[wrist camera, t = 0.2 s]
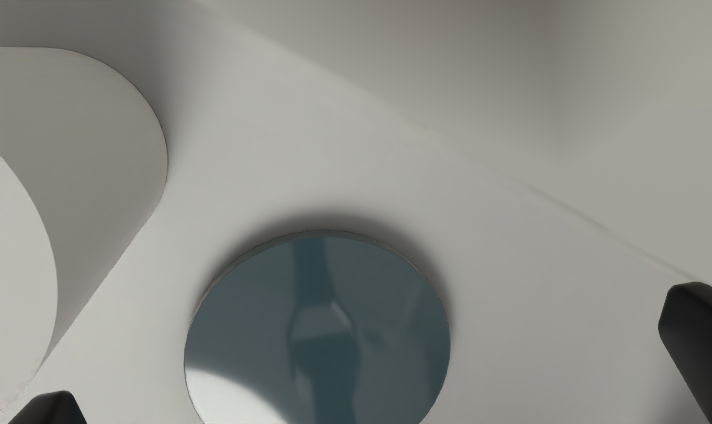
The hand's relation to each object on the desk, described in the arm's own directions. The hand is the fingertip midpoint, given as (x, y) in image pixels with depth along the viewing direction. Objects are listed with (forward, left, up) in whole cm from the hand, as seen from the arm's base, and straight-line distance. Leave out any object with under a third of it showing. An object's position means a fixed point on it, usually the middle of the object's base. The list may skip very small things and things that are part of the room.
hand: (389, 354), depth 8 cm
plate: (-7, -5, -15) cm, 18 cm away
